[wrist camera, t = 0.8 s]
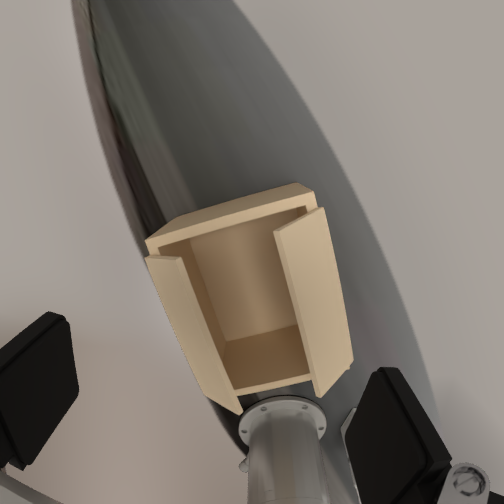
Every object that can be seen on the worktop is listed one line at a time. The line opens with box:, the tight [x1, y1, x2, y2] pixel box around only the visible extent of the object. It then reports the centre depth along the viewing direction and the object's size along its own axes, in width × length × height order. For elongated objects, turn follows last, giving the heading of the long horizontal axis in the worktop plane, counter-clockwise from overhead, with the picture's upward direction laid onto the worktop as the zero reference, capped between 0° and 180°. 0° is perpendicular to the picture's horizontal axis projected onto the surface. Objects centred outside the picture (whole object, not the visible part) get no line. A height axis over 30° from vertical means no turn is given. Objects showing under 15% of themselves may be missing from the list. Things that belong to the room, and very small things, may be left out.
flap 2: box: [273, 207, 354, 398], centre depth 22 cm, size 5×14×1 cm
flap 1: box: [145, 255, 243, 415], centre depth 23 cm, size 5×14×1 cm
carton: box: [145, 182, 350, 396], centre depth 30 cm, size 16×13×10 cm
